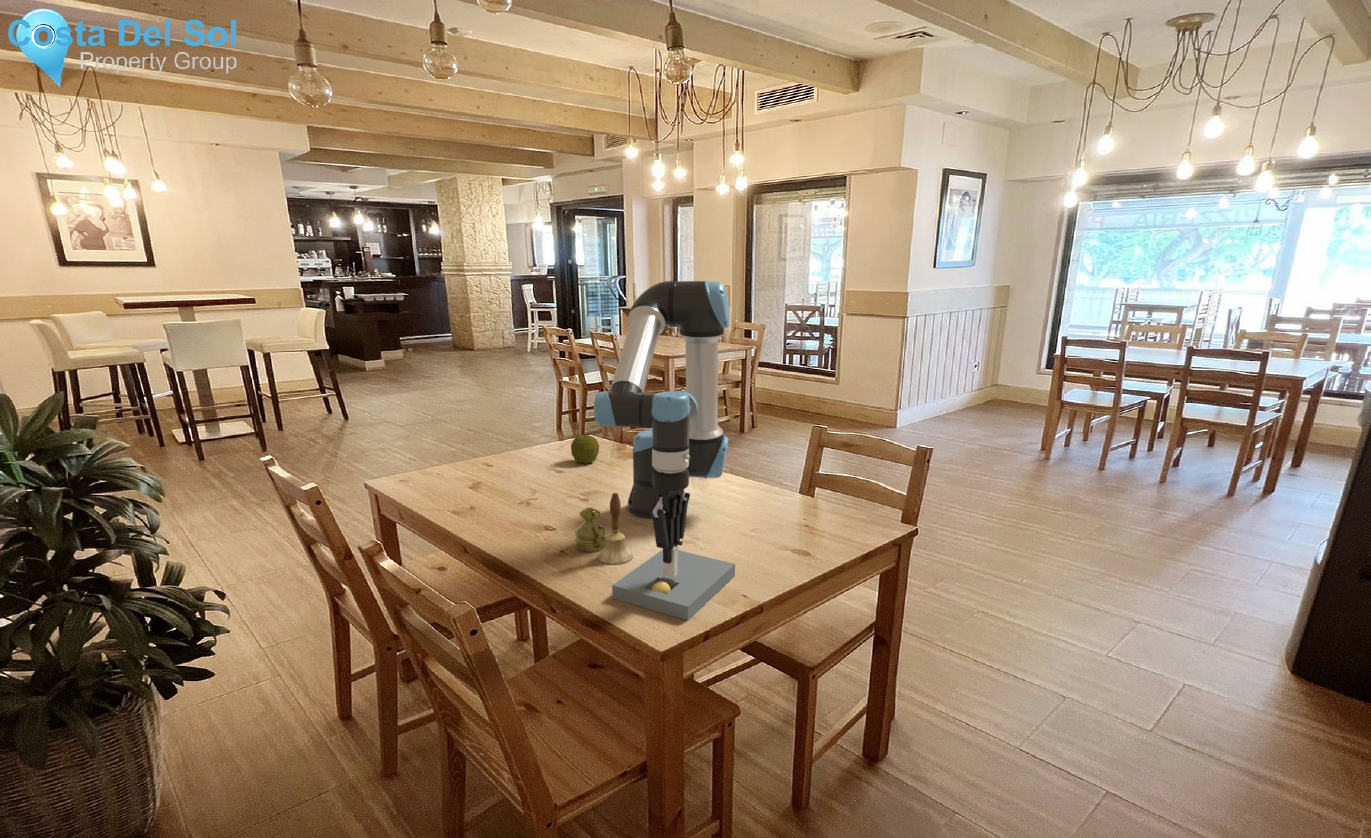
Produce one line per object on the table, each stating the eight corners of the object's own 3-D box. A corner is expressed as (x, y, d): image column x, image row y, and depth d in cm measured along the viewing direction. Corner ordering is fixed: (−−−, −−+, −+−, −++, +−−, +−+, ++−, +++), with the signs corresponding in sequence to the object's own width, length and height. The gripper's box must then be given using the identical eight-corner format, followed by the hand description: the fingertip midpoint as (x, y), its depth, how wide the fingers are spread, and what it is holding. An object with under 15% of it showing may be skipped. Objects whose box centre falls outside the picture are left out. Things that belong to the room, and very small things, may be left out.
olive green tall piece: (592, 555, 156) (591, 516, 154) (569, 548, 160) (567, 509, 157) (611, 544, 162) (610, 506, 160) (588, 538, 166) (587, 501, 163)
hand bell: (599, 550, 158) (597, 488, 155) (633, 549, 159) (632, 487, 156) (597, 565, 150) (595, 500, 147) (633, 564, 151) (632, 499, 148)
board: (612, 598, 135) (612, 585, 134) (666, 559, 154) (666, 547, 153) (688, 620, 127) (688, 606, 126) (734, 576, 145) (735, 563, 145)
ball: (657, 593, 137) (647, 601, 134) (657, 576, 136) (647, 584, 133) (674, 598, 135) (664, 606, 132) (674, 580, 134) (664, 588, 131)
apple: (567, 465, 228) (566, 435, 226) (576, 458, 237) (575, 428, 235) (594, 467, 226) (594, 436, 224) (602, 459, 236) (602, 430, 233)
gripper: (670, 479, 125) (670, 591, 130) (701, 462, 136) (700, 566, 141) (637, 473, 128) (638, 582, 133) (670, 457, 139) (670, 559, 145)
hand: (670, 574), depth 137 cm, fingers closed
